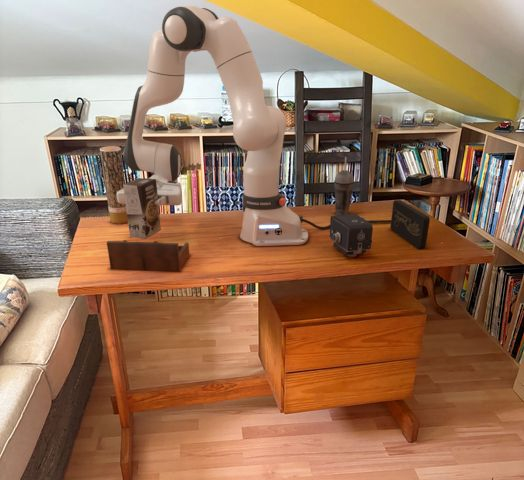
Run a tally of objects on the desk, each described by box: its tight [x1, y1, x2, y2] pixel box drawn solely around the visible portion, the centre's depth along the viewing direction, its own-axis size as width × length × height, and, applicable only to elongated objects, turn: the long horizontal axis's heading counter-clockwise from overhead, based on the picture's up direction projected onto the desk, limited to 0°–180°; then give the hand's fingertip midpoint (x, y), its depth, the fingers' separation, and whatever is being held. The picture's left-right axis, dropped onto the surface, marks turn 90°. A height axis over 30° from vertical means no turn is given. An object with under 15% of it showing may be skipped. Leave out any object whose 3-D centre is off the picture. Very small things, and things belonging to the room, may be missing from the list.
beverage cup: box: [333, 156, 355, 215], centre depth 195 cm, size 7×7×20 cm
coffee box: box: [123, 177, 162, 240], centre depth 164 cm, size 9×6×16 cm
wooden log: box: [99, 145, 128, 225], centre depth 186 cm, size 7×7×25 cm
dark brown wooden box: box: [106, 240, 190, 273], centre depth 156 cm, size 20×13×8 cm, turn 84°
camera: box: [328, 213, 374, 258], centre depth 162 cm, size 11×11×15 cm
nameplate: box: [390, 199, 431, 250], centre depth 173 cm, size 21×2×10 cm, turn 14°
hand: (143, 203), depth 163 cm, fingers closed on coffee box, 7 cm apart
